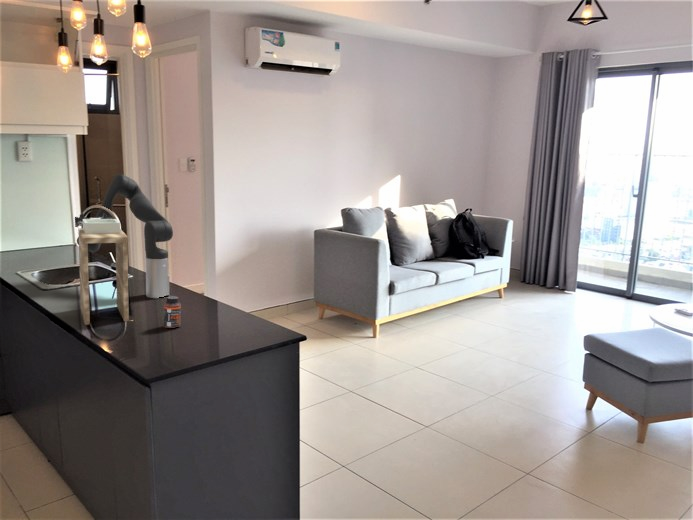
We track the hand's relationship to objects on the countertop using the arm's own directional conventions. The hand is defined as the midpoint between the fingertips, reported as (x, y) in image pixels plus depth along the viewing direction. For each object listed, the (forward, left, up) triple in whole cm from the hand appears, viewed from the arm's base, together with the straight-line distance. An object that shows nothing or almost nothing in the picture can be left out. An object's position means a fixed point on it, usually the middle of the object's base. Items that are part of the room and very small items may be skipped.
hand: (93, 215), depth 248 cm
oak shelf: (0, +36, -34) cm, 49 cm away
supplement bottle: (-21, +59, -35) cm, 71 cm away
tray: (0, +23, -2) cm, 23 cm away
